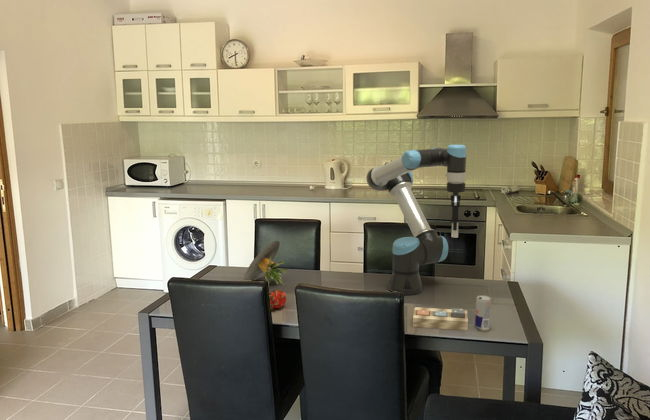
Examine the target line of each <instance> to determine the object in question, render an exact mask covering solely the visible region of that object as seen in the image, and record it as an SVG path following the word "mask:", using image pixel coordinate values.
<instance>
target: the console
mask: <svg viewBox="0 0 650 420" xmlns="http://www.w3.org/2000/svg"><path fill="white" fill-rule="evenodd" d="M418 310H429V316H422V315H417V311H418ZM435 311H446V312H447V317H437V316H434V313H435ZM412 327H413V328H426V329H429V328H430V329H442V330H443V329H444V330H453V331H454V330H455V331H468V329H469V318H468V310H467V309H464V318H452V308H451V309H449V308H437V307H436V308H433V307H419V306H417V307H416V306H415V307H414V311H413V316H412Z"/></svg>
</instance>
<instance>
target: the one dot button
mask: <svg viewBox="0 0 650 420" xmlns="http://www.w3.org/2000/svg"><path fill="white" fill-rule="evenodd" d="M417 315H422V316H429V310H418V311H417Z"/></svg>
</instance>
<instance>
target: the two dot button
mask: <svg viewBox="0 0 650 420" xmlns="http://www.w3.org/2000/svg"><path fill="white" fill-rule="evenodd" d="M451 309H452V318H464V310H465V308H456V307H455V308H453V307H452V308H451Z"/></svg>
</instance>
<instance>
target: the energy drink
mask: <svg viewBox="0 0 650 420" xmlns="http://www.w3.org/2000/svg"><path fill="white" fill-rule="evenodd" d="M491 312H492V299H491V297H490V296H489V295H483V294H482V295H481V294H480V295H477V296H476V299H475V317H474V318H475V319H474V322H475V323H474V324H475V325H474V328H475V329H476V330H477V331H481V332H482V331H483V332H487V331H490V329H491Z"/></svg>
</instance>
